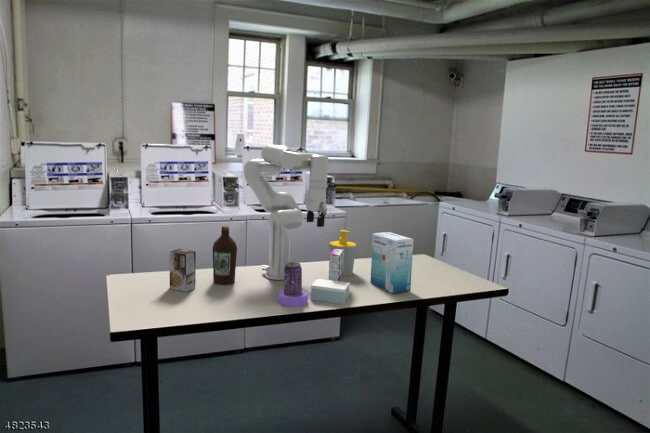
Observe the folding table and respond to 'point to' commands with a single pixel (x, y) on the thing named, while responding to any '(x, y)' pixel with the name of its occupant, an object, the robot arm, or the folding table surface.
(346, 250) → the soap bottle
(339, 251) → the candy bar box
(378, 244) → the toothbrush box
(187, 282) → the coffee box
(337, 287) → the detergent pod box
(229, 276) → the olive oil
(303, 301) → the masking tape
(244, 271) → the folding table surface
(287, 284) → the beverage can
